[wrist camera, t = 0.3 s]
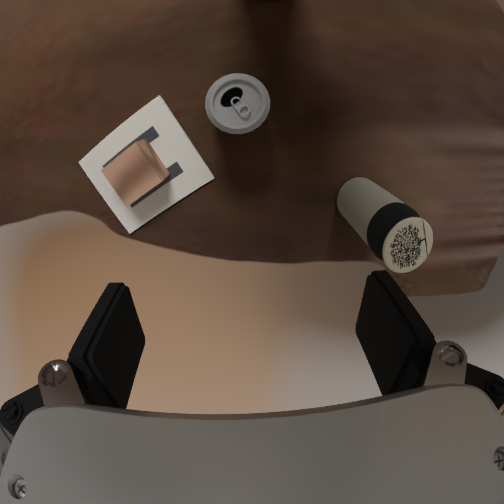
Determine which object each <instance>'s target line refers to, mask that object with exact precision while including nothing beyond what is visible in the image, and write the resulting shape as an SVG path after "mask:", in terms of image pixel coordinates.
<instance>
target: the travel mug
mask: <svg viewBox="0 0 504 504" xmlns="http://www.w3.org/2000/svg"><path fill="white" fill-rule="evenodd" d="M337 206H338V209H339V211H340V213H341V214H342V216H343V217H344V218H345V219H346V220H347V221H348V223H349V224H350V225H351V226H352V227H353V228H354V230H355V231H356V232H357V233H358V234H359V236H360V237H361V238H362V239H363V240H364V242H365V243H366V244H367V245H368V246H369V248H370V249H371V250H372V251H373V253H374V254H375V255H376V256H377V257H378V258H379V259H381V260H382V261H384V263H385V264H386V266H387V267H388V268H389V269H390V270H392V271H394V272H397V273H405V272H409V271H412V270H414V269H415V268H417V267H418V266H420V265H421V264H422V263H423V262H424V260H425V259H426V258H427V256H428V254H429V253H430V250H431V247H432V243H433V233H432V229H431V227H430V225H429V224H428V223H427V222H426V221H425V220H424V219H421V218H420V217H419V215H418V213H417V212H416V211H415V210H413V209H412V208H411V207H409V206H408V205H406V204H405V203H404V202H402V201H401V200H399V199H398V198H396V197H395V196H393V195H392V194H390V193H389V192H388V191H386V190H385V189H383V188H382V187H380V186H378V185H377V184H375V183H374V182H372V181H371V180H369V179H367V178H364V177H356V178H352V179H350V180H348V181H347V182H346V183H345V184H344V185H343V186H342V187H341V189H340V190H339V193H338V196H337Z"/></svg>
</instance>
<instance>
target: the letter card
mask: <svg viewBox="0 0 504 504" xmlns="http://www.w3.org/2000/svg"><path fill="white" fill-rule="evenodd" d="M145 138H146V139H147V140H148V142H149V143H150V145H151V146H152V148H153V149H154V151H155V152H156V154H157V155H158V157H159V158H160V160H161V161H162V163H163V164H164V166H165V167H166V168H167V170H168V171H169V173H170V174H169V175H168V176H167V177H166V178H165V179H164V180H163V181H162V182H161V183H159V184H158V185H156V186H155V187H154V188H152V189H151V190H149V191H148V192H147V193H145V194H144V195H143V196H141V197H140V198H138V199H137V200H136V201H134V202H133V203H132V204H130V205H129V206H128V207H126V205H125V204H124V202H123V201H122V200H121V198H120V197H119V196H118V194H117V193H116V191H115V190H114V189H113V187H112V186H111V184H110V183H109V181H108V180H107V179H106V177H105V176H104V174H103V173H102V171H101V170H102V169H103V168H105V167H106V166H107V165H108V164H109V163H110V162H112V161H113V160H114V159H115V158H116V157H118V156H119V155H120V154H121V153H122V152H124V151H125V150H126V149H127V148H129V147H130V146H131V145H132V144H134V143H135V142H137V141H140V140H143V139H145ZM79 164H80V165H81V167H82V168H83V170H84V171H85V173H86V174H87V176H88V177H89V178H90V180H91V181H92V183H93V184H94V186H95V187H96V189H97V190H98V191H99V193H100V194H101V196H102V197H103V198H104V200H105V201H106V203H107V204H108V205H109V207H110V208H111V209H112V211H113V212H114V214H115V215H116V216H117V218H118V219H119V220H120V222H121V223H122V224H123V226H124V227H125V228H126V229H127V231H128V232H129V233H132V232H133V231H135V230H136V229H138V228H139V227H140V226H142V225H143V224H145V223H146V222H148V221H149V220H150V219H152V218H153V217H155V216H156V215H158V214H159V213H161V212H162V211H164V210H165V209H167V208H168V207H170V206H171V205H173V204H174V203H176V202H177V201H179V200H180V199H182V198H184V197H185V196H187V195H188V194H190V193H191V192H193V191H195V190H196V189H198V188H199V187H201V186H203V185H204V184H206V183H207V182H209V181H211V180H212V179H214V178H215V177H214V176H213V174H212V173H211V171H210V170H209V168H208V167H207V165H206V164H205V162H204V161H203V159H202V158H201V156H200V155H199V153H198V152H197V150H196V149H195V147H194V146H193V144H192V142H191V141H190V139H189V138H188V136H187V135H186V133H185V132H184V130H183V129H182V127H181V126H180V124H179V123H178V121H177V120H176V118H175V117H174V115H173V114H172V112H171V111H170V109H169V108H168V106H167V105H166V103H165V102H164V100H163V99H162V97H161V96H160V95H159V96H158V97H156V98H155V99H154V100H152V101H151V102H149V103H148V104H147V105H145V106H144V107H143V108H141V109H140V110H139V111H137V112H136V113H135V114H134V115H132V116H131V117H130V118H128V119H127V120H126V121H125V122H123V123H122V124H121V125H120V126H119V127H117V128H116V129H115V130H114V131H113V132H111V133H110V134H109V135H108V136H107V137H106V138H105V139H103V140H102V141H101V142H100V143H99V144H98V145H97V146H96V147H94V148H93V149H92V150H91V151H90V152H89V153H88V154H87V155H86V156H85V157H84V158H83V159H82V160H81V161H80V162H79Z"/></svg>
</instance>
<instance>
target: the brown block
mask: <svg viewBox="0 0 504 504" xmlns="http://www.w3.org/2000/svg"><path fill="white" fill-rule="evenodd" d="M101 171H102V173H103V174H104V176H105V177H106V179H107V180H108V181H109V183H110V184H111V186H112V187H113V189H114V190H115V191H116V193H117V194H118V196H119V197H120V198H121V200H122V201H123V202H124V204H125V205H126V207H128V206H129V205H130V204H132V203H133V202H134V201H136V200H137V199H138V198H140V197H141V196H143V195H144V194H145V193H147V192H148V191H149V190H151V189H152V188H154V187H155V186H156V185H158V184H159V183H161V182H162V181H163V180H164V179H165V178H166V177H167V176H168V175H169V174H170V173H169V171H168V170H167V168H166V167H165V166H164V164H163V163H162V161H161V160H160V158H159V157H158V155H157V154H156V152H155V151H154V149H153V148H152V146H151V145H150V143H149V142H148V140H147V139H146V138H145V139H143V140H140V141H137V142H135V143H134V144H132V145H131V146H130V147H129V148H127V149H126V150H125V151H124V152H122V153H121V154H120V155H119V156H118V157H116V158H115V159H114V160H113V161H112V162H110V163H109V164H108V165H107V166H106V167H105V168H103V169H102V170H101Z"/></svg>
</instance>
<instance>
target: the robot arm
mask: <svg viewBox="0 0 504 504" xmlns="http://www.w3.org/2000/svg"><path fill="white" fill-rule="evenodd" d="M356 334H357V337H358V339H359V341H360V343H361V346H362V348H363V350H364V353H365V355H366V357H367V360H368V362H369V364H370V366H371V369H372V372H373V374H374V376H375V379H376V381H377V384H378V386H379V388H380V391H381V394H382V395H383V396H381V397H375V398H370V399H365V400H360V401H355V402H350V403H344V404H338V405H332V406H325V407H318V408H311V409H301V410H292V411H282V412H270V413H253V414H180V413H178V414H177V413H163V412H150V411H140V410H130V409H126V407H127V404H128V400H129V396H130V393H131V389H132V386H133V382H134V378H135V375H136V372H137V368H138V365H139V362H140V358H141V355H142V352H143V349H144V345H145V336H144V333H143V330H142V327H141V324H140V321H139V318H138V315H137V313H136V309H135V306H134V303H133V299H132V296H131V293H130V290H129V287H127V286H125V285H124V283H109V284H108V285H107V287H106V289H105V290H104V292H103V293H102V295H101V297H100V298H99V300H98V302H97V304H96V305H95V307H94V309H93V310H92V312H91V314H90V316H89V318H88V319H87V321H86V323H85V325H84V326H83V328H82V330H81V332H80V334H79V335H78V337H77V339H76V341H75V343H74V345H73V347H72V349H71V351H70V353H69V357H68V359H67V361H64V360H53V361H50V362H49V363H47V364H45V366H43V368H42V369H41V370H40V372H39V375H38V383H39V384H38V385H36V386H34V387H32V388H30V389H28V390H26V391H25V392H23V393H21V394H19V395H17V396H15V397H13V398H12V399H10V400H8V401H7V402H5V403H4V404H3V406H2V407H1V410H0V504H504V379H503V378H502V377H501V376H499V375H496V374H494V373H492V372H489V371H486V370H484V369H482V368H479V367H477V366H474V365H472V364H469V363H467V355H466V352H465V350H464V349H463V348H462V347H461V346H460V345H459V344H457V343H455V342H453V341H448V340H447V341H441V342H438V343H436V341H435V340H434V338H435V337H434V335H433V334H432V332H431V331H430V329H429V328H428V326H427V325H426V323H425V322H424V320H423V319H422V318H421V316H420V315H419V313H418V312H417V311H416V309H415V308H414V306H413V305H412V303H411V302H410V301H409V299H408V298H407V297H406V295H405V294H404V293H403V291H402V290H401V289H400V287H399V286H398V285H397V283H396V282H395V281H394V279H393V278H392V277H391V275H390V274H389V273H388V272H387V271H386V270H381V271H373V272H372V273H371V275H368V277H367V280H366V284H365V289H364V293H363V298H362V303H361V307H360V311H359V315H358V319H357V323H356Z"/></svg>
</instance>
